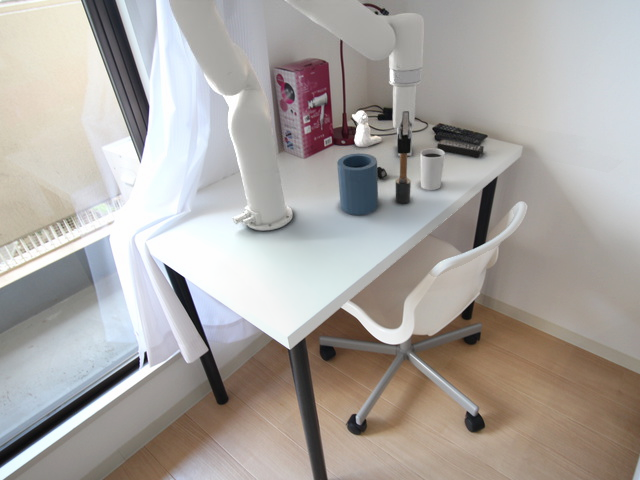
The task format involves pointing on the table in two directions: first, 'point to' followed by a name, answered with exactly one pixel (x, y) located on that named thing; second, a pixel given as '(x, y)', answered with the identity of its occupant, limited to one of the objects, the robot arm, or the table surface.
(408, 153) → the medicine box
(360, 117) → the sitting furry creature
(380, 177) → the electric trimmer
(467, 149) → the multiport hub
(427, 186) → the white tumbler
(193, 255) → the table surface
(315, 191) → the table surface
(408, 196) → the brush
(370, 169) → the cup
